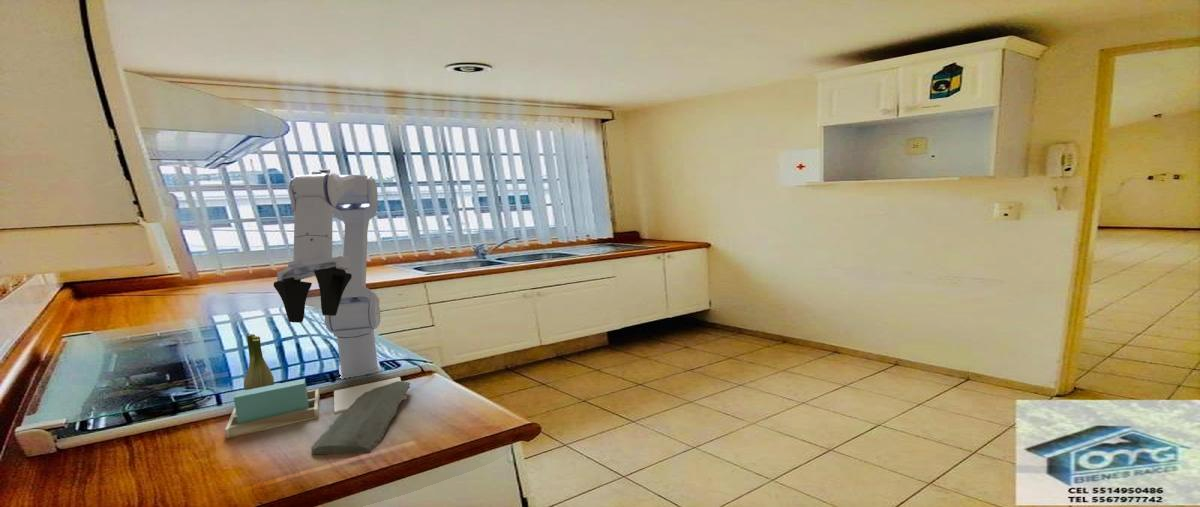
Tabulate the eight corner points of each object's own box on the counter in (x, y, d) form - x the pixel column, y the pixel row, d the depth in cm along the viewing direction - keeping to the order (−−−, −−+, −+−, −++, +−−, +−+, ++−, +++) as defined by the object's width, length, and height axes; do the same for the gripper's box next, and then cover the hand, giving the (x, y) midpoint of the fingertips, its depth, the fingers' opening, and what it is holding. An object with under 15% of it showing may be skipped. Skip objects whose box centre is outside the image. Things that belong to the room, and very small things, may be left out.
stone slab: (308, 465, 72) (376, 453, 73) (303, 449, 72) (371, 436, 73) (365, 395, 94) (417, 386, 95) (362, 382, 94) (413, 373, 94)
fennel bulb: (270, 396, 95) (261, 338, 93) (240, 401, 93) (231, 341, 91) (278, 385, 100) (270, 329, 98) (250, 389, 98) (242, 332, 96)
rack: (237, 415, 87) (235, 405, 87) (319, 397, 93) (318, 388, 93) (226, 441, 78) (224, 429, 78) (318, 419, 85) (317, 408, 84)
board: (241, 425, 83) (236, 392, 82) (309, 409, 87) (305, 378, 86) (239, 431, 80) (233, 397, 79) (308, 415, 85) (304, 383, 84)
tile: (334, 394, 94) (334, 390, 94) (400, 380, 100) (399, 376, 100) (334, 415, 86) (334, 411, 86) (406, 399, 91) (406, 395, 91)
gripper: (260, 244, 82) (257, 324, 79) (324, 226, 77) (323, 310, 74) (299, 251, 88) (297, 325, 85) (360, 235, 84) (360, 313, 81)
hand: (312, 318), depth 80 cm, fingers open, 7 cm apart
